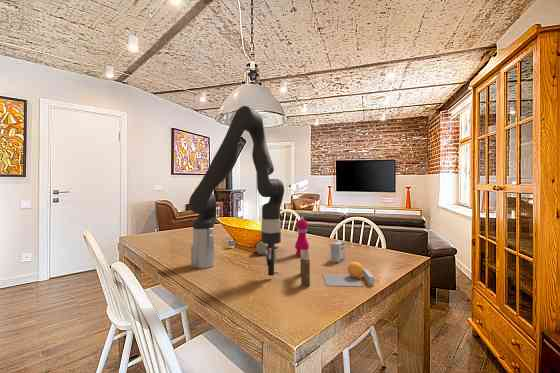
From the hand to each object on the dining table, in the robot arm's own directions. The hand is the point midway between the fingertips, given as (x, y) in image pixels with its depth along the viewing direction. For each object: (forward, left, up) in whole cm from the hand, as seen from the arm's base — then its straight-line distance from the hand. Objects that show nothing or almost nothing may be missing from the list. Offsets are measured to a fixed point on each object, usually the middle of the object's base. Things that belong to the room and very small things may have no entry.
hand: (271, 275), depth 107 cm
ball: (+33, +3, +2) cm, 33 cm away
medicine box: (+30, +28, -2) cm, 41 cm away
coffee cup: (-27, +52, -2) cm, 59 cm away
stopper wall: (+37, 0, -2) cm, 37 cm away
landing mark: (+27, 0, -2) cm, 27 cm away
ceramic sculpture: (-6, +42, -2) cm, 43 cm away
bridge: (+13, 0, -2) cm, 13 cm away
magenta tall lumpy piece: (+13, +38, -2) cm, 40 cm away
